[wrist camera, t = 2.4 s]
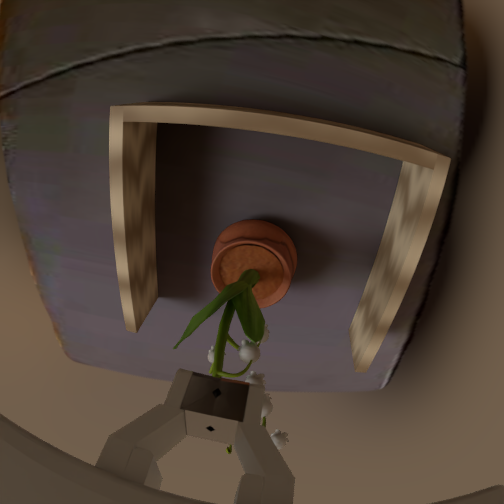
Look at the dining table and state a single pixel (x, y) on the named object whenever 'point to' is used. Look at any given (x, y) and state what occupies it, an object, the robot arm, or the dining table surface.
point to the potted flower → (247, 294)
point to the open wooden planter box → (412, 154)
